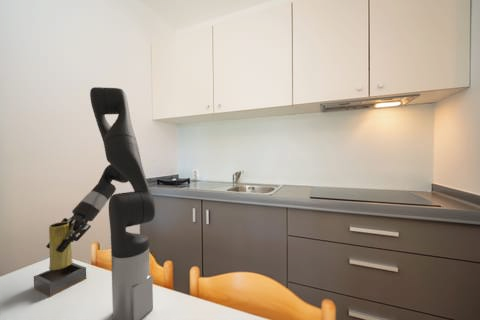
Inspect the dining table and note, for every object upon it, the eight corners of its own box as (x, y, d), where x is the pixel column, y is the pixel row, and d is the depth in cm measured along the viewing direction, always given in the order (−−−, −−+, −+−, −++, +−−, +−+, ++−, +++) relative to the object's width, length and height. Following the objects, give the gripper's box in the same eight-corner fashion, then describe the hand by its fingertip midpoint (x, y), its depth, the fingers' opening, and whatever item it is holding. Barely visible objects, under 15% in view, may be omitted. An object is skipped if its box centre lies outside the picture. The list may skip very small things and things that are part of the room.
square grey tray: (86, 278, 73) (86, 267, 73) (50, 296, 63) (49, 284, 63) (70, 272, 77) (69, 261, 77) (33, 288, 68) (33, 276, 68)
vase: (51, 272, 66) (49, 228, 66) (47, 266, 70) (45, 224, 69) (75, 264, 71) (73, 223, 70) (69, 259, 75) (68, 220, 74)
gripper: (72, 198, 79) (32, 241, 69) (95, 202, 73) (55, 249, 63) (87, 209, 84) (52, 250, 74) (110, 213, 78) (75, 258, 68)
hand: (53, 249), depth 68 cm, fingers closed on vase, 5 cm apart
